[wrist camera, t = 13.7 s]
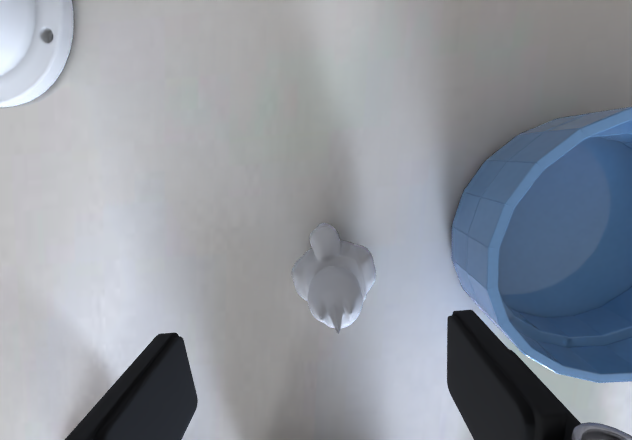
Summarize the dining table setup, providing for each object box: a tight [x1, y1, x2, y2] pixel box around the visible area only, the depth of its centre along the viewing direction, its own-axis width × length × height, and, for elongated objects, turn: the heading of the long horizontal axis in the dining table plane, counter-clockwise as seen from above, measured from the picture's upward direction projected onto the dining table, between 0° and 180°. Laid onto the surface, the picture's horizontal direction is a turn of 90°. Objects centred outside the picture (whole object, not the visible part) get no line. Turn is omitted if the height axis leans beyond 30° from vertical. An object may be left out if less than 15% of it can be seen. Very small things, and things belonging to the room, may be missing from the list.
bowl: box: [452, 107, 632, 383], centre depth 18 cm, size 15×15×5 cm
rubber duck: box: [292, 223, 376, 334], centre depth 18 cm, size 5×7×8 cm
